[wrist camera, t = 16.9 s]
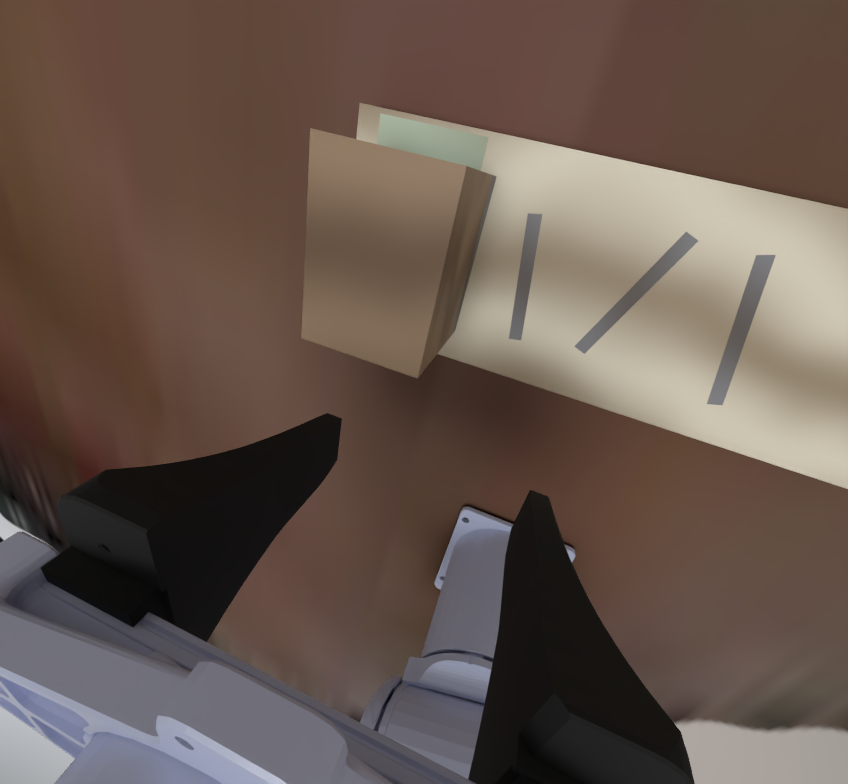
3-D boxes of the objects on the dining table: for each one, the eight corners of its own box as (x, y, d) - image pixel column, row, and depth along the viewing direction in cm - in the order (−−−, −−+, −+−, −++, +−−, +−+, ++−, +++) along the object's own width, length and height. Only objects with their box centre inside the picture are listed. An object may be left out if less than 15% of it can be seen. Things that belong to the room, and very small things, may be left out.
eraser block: (455, 330, 19) (417, 378, 14) (366, 302, 20) (301, 338, 15) (496, 176, 16) (466, 166, 11) (387, 150, 16) (310, 128, 11)
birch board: (885, 487, 18) (911, 509, 16) (351, 314, 22) (339, 321, 21) (1132, 276, 13) (1197, 284, 11) (374, 109, 17) (359, 102, 16)
